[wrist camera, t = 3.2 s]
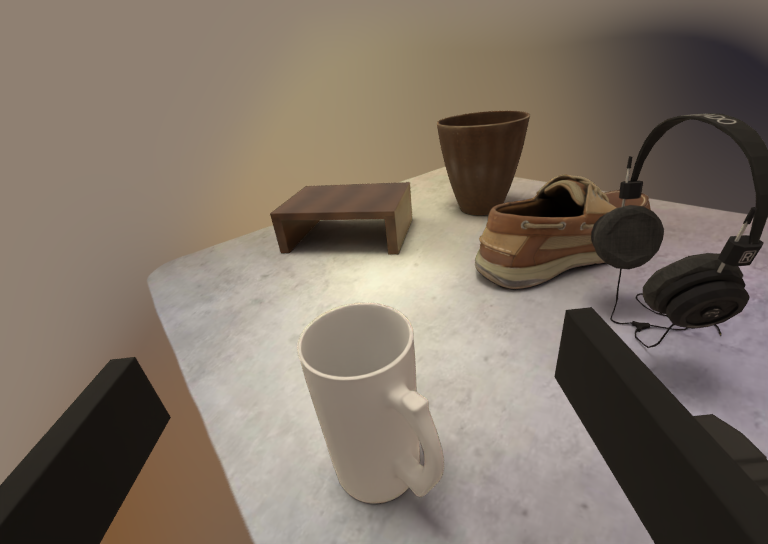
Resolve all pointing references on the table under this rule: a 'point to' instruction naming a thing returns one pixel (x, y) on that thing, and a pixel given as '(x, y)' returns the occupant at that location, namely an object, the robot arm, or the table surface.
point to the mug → (370, 401)
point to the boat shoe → (545, 232)
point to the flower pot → (482, 156)
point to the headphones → (693, 273)
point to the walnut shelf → (344, 211)
